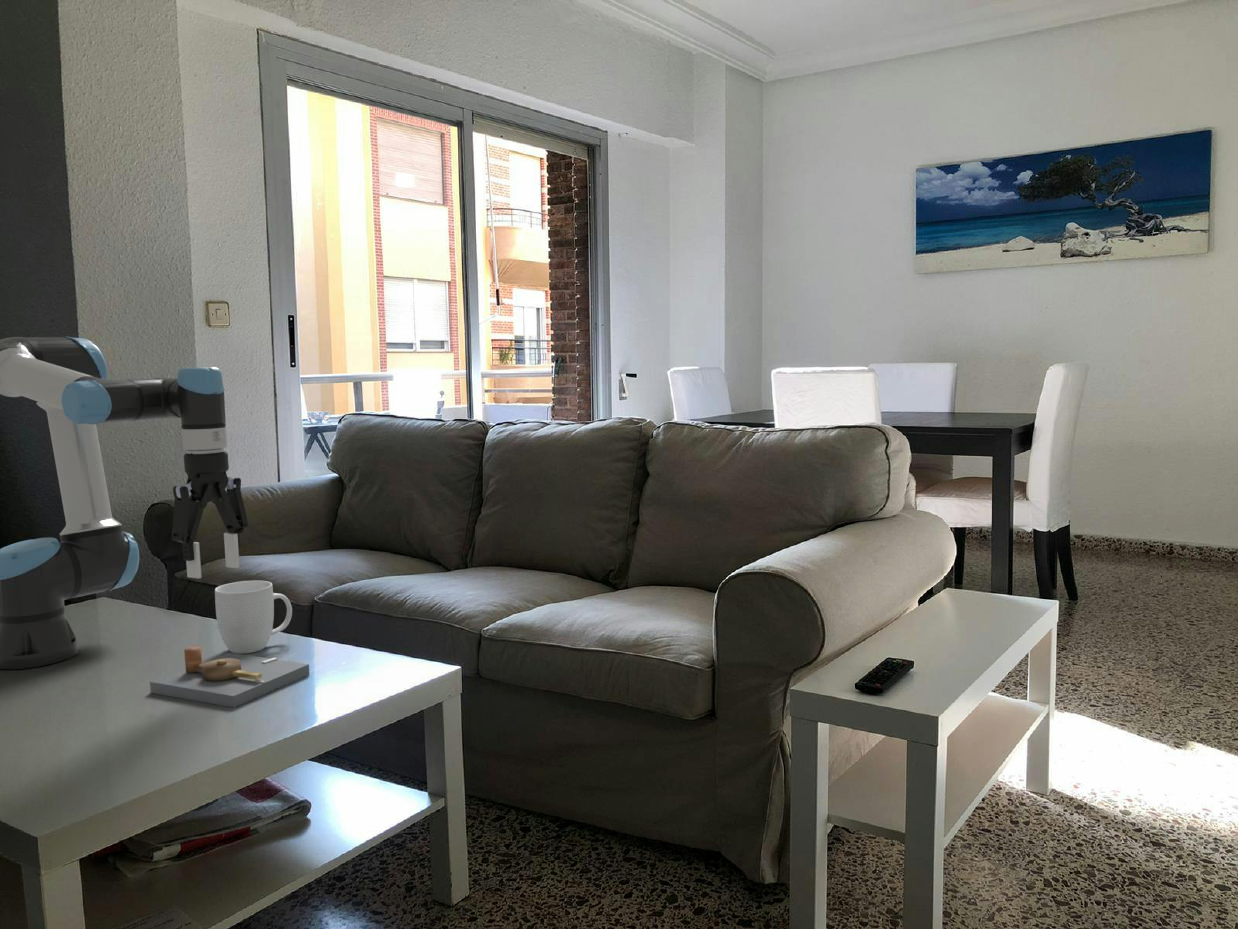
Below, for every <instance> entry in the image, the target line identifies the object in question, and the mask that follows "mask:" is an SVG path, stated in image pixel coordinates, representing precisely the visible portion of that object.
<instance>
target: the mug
mask: <svg viewBox="0 0 1238 929" xmlns="http://www.w3.org/2000/svg"><path fill="white" fill-rule="evenodd" d="M273 589H274V587H273V583H272V582H271V581H268V580H267V581H266V580H241V581H235V582H231V583H225V584H222V585H218V586H217V587H215V589H214V599H215V600H214V602H215V605H214V606H215V615H216V622H217V623H216V624H217V626H218V627H217V628H218V631H219V632H218V633H219V635H220V637H221V640H222V641H223V644H224V645H225V647H226V648H227V649H228V650H229V651H230V653H235V654H241V655H247V654H252V653H256V652H259V651H262V650H263V649H265V648H266V647H267V645H268V643H269V641H270V638H271V636H274V635H276V634H278V633H281V632H282V631H284V630H285V629H286V628H287V627H288V626H289V624H290V622H291V619H292V616H293V607H292V604H291V601H290V599H289V598H288V597H287V596H286V595H285V594H282V593H276V592H274V590H273ZM276 599H281V600H282V601H283V602H284V604H285V607H286V616H285V619H284V621H283V622H282V623H281V624H280V625H279V626H278V627H276V628H274V627H273V626H274V619H275V618H274V617H275V610H274V609H275V604H274V603H275V600H276Z"/></svg>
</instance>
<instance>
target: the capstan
mask: <svg viewBox="0 0 1238 929" xmlns="http://www.w3.org/2000/svg"><path fill="white" fill-rule="evenodd" d="M183 654H184V663H185V665H184V666H185V669H186V672H188V673H193V672H198V671H199V672H203V678H204V679H205V680H211V681H218V680H226V679H230V678H234V677H241V678H248V679H254V680H258V679H260V678H262V674H261V673H256V672H249V671H243V670H241V661H240V660H239V659H234V658H225V659H218V660H213V661H210V662H207V663H202V662H203V659H202V658H203V657H202V647H201V646H190V647H186V648H184V653H183Z"/></svg>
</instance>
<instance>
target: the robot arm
mask: <svg viewBox="0 0 1238 929" xmlns="http://www.w3.org/2000/svg"><path fill="white" fill-rule="evenodd" d="M108 373H109V372H108V367H107V363H106V359H105V357H104V355H103V353H102V352H101V350H100V349H99V347H98V346H97V345H95V343H94V342H92V341H91V340H89V339H86V338H83V337H72V336H37V337H36V336H33V337H29V336H27V337H25V336H23V337H22V336H13V337H6V338H1V339H0V395H1V396H5V397H9V398H18V397H19V398H20V397H23V398H27V399H29V400H32V401H35V403H36V405H37V406H38V407H40V408H41V409H43V410H44V411H45V412H46V417H47V421H48V429H49V432H50V439H51V445H52V450H53V456H54V461H55V462H54V463H55V467H56V473H57V478H58V485H59V491H60V496H61V502H62V507H63V513H64V518H65V527H63V529H62V531H60V533H59V538H60V541H59V539H57V538H55V537H38V538H34V539H27V540H22V541H18V542H15V543H12V544H9V545H7V546H4V547H1V548H0V669H1V670H21V669H31V668H32V669H33V668H38V667H43V666H47V665H52V664H55V663H60V662H63V661H65V660H68V659H70V658H73V657H75V656H76V655H77V654H78V653H79V642H78V639H77V637H76V634H75V632H74V631H73V629H72V627H71V624H70V623H69V620H68V618H67V616H66V608H65V600H69V599H75V598H79V597H84V596H89V595H93V594H98V593H103V592H111V591H113V590H115V589H119V588H123V587H125V586H127V585H128V584H130V583H132V580H134V578H135V575H136V574H137V571H138V569H139V564H140V551H139V547H138V546H139V545H138V542H137V541H136V540H135V537H134V536H133V535H132V534H131V533H130V532H126V531H124V530H123V525H122V523H121V522H119V521H118V520H116V519H115V518H113V515H112V509H111V508H112V507H111V502H110V497H109V492H108V491H109V490H108V487H107V486H108V485H107V480H106V474H105V469H104V464H103V458H102V452H101V446H100V441H99V434H98V427H97V424H107V423H118V422H120V423H121V422H130V421H131V422H133V421H135V422H136V421H147V420H148V421H149V420H151V421H152V420H161V419H180V421H181V422H180V423H181V438H182V441H181V442H182V449H183V450H184V451H185V452H186V453H184V454H183V467H184V468H183V469H184V472H185V473H186V475H187V480H186V483H185V484H182V485H174V486H173V487H172V492H173V497H174V503H173V515H172V527H171V536H170V537H171V541H173V542H178V543H181V544H182V558H183V560H184V561H185V563H186V575H187V578H189V579H201V578H202V566H201V551H200V542H197V541H196V538H197V534H198V531H199V527H200V524H201V520H202V517H203V513H204V510H205V508H206V507H207V506H208V503H210V502H211V503H213V504H214V505H215V507H216V509H217V510H216V511H218V514H219V516H220V518H221V520H222V522H223V524H224V526H225V529H226V531H227V532H224V533H223V541H224V543H223V544H224V557H225V567H226V568H231V569H238V568H240V553H239V552H240V551H239V549H241V536H240V535H241V534H243V533H244V531H245V529H247V528H248V526H249V522H248V517H247V513H246V508H245V504H244V499H243V495H242V489H241V488H242V487H241V486H242V478H240V477H230V476H229V477H228V475H227V472H228V470H229V468H230V466H229V453H228V452H227V451H225V449H227V447H228V438H227V426H226V425H227V424H226V408H225V407H226V404H225V402H226V401H225V386H224V382H223V374H222V373H223V372H222V371H221V369H220V368H218V367H217V366H211V367H210V366H205V367H204V366H201V367H200V366H199V367H180V368H179V369H178V371H177V378H175V377H171V378H170V377H154V378H140V379H137V378H135V379H107V378H108Z"/></svg>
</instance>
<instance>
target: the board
mask: <svg viewBox="0 0 1238 929" xmlns="http://www.w3.org/2000/svg"><path fill="white" fill-rule="evenodd" d="M225 658H234V659H239V660H240V661H241V670H243V671H249V672H256V673H261V674H262V678H260V679H258V680H254V679H248V678H241V677H234V678H230V679H226V680H218V681H211V680H205V679H204V678H203V672H199V671H198V672H193V673H188V672H186V668H184V669H181V670H177V671H175V672H173V673H169V674H167V675H165V676H162V677H159V678H157V679H154V680H151V681H150V682H149V685H150V686H149V687H150V693H151V694H156V695H161V696H168V697H174V698H179V699H184V700H190V701H195V702H201V703H206V704H212V705H218V706H225V707H228V708H236V706H237V707H239V706H241V705H244V704H246V703H248V702H250V701H252V700H255V699H257V698H259V697H262V696H264V695H267V694H269V693H271V692H272V691H276V690H278V689H280V688H283V687H285V686H287V685H289V684H291V683H294V682H296V681H298V680H300V679H303V678H306V677H308V676H310V665H309V664H308V663H302V662H295V661H290V660H281V659H278V658H277V657H272V658H268V657H261V656H254V655H247V654H236V653H233V652H228V653H227V652H226V653H225V654H221V655H220V656H216V657H213V658H212V659H209V660H206V661H202V663H207V662H210V661H213V660H218V659H225ZM277 688H278V689H277ZM275 689H276V690H275ZM270 691H271V692H270ZM254 698H255V699H254ZM245 702H246V703H245ZM238 705H239V706H238Z"/></svg>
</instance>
